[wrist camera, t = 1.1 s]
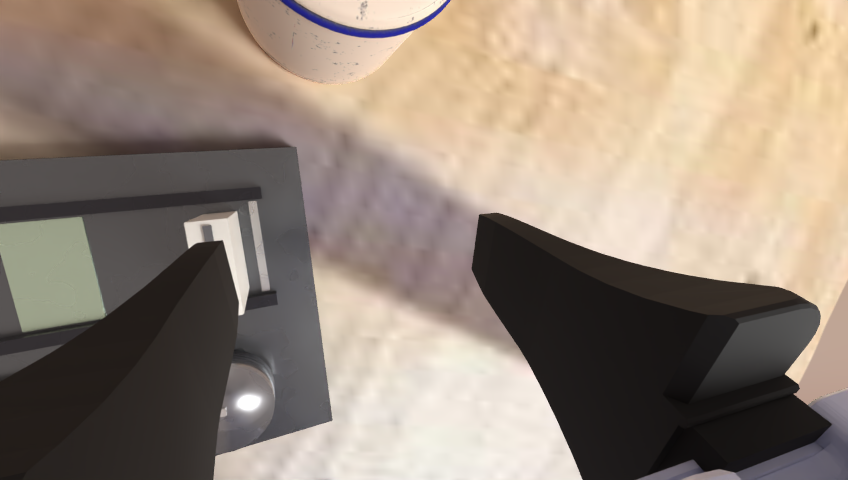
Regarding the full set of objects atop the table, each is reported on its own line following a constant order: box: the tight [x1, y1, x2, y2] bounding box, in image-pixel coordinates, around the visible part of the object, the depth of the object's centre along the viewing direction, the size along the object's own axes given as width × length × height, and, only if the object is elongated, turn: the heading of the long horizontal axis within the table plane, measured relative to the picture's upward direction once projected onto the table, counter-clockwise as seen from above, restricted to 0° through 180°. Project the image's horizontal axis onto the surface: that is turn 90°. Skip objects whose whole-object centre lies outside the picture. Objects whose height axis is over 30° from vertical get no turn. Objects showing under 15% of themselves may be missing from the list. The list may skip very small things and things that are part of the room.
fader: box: [184, 211, 250, 315], centre depth 17 cm, size 4×2×5 cm, turn 5°
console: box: [0, 147, 332, 456], centre depth 17 cm, size 16×16×6 cm
